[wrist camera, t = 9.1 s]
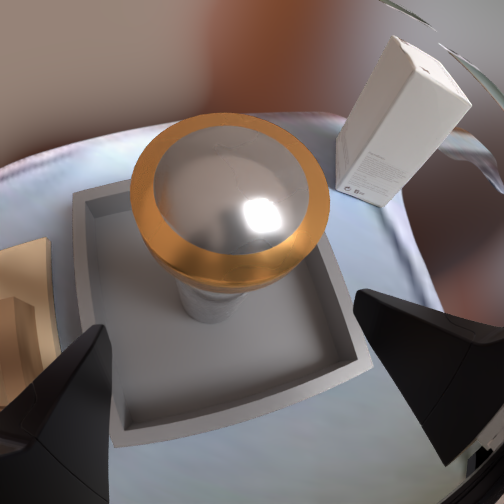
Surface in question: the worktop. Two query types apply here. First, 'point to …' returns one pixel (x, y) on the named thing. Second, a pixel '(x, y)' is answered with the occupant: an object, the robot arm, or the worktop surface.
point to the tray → (205, 332)
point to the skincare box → (396, 123)
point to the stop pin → (227, 207)
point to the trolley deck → (32, 291)
